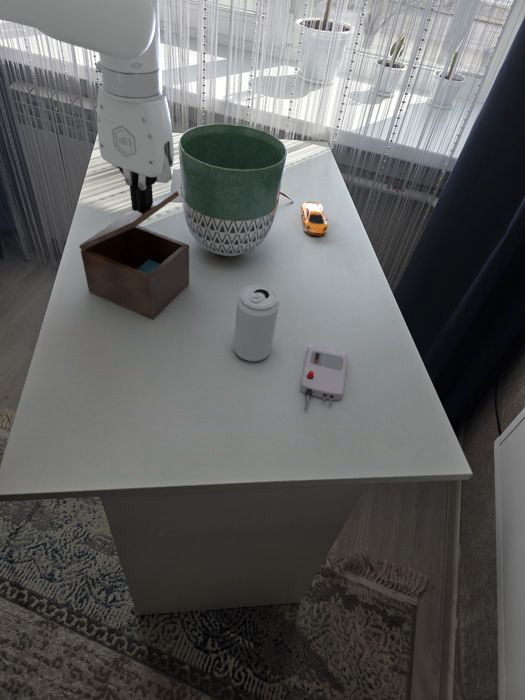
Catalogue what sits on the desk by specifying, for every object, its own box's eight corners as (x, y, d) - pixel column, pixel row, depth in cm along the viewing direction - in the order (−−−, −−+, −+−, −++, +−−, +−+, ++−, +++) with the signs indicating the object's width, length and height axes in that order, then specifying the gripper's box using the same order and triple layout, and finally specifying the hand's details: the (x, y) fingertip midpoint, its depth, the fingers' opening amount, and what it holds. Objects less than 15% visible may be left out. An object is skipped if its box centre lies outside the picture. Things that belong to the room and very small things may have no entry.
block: (156, 301, 83) (155, 281, 80) (135, 292, 84) (133, 272, 81) (171, 288, 86) (170, 267, 83) (150, 279, 87) (148, 259, 84)
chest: (189, 284, 89) (189, 244, 83) (153, 320, 81) (149, 279, 75) (129, 260, 92) (124, 219, 86) (88, 291, 84) (80, 250, 78)
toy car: (303, 237, 105) (306, 223, 102) (298, 209, 113) (300, 196, 111) (328, 239, 105) (332, 225, 103) (321, 211, 114) (324, 198, 111)
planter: (175, 270, 91) (173, 164, 76) (184, 218, 105) (183, 118, 89) (274, 278, 93) (291, 175, 78) (270, 225, 107) (284, 129, 91)
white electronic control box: (346, 349, 81) (350, 337, 79) (338, 420, 71) (343, 409, 68) (309, 340, 82) (312, 328, 80) (295, 410, 71) (298, 398, 69)
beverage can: (277, 347, 80) (288, 293, 71) (257, 370, 76) (265, 315, 67) (246, 331, 82) (253, 276, 73) (225, 352, 78) (229, 296, 69)
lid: (179, 195, 77) (176, 190, 76) (135, 227, 69) (132, 222, 69) (125, 219, 86) (123, 215, 85) (81, 250, 78) (78, 246, 78)
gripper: (66, 72, 60) (88, 203, 73) (164, 103, 57) (169, 234, 70) (104, 60, 65) (118, 184, 78) (196, 87, 62) (195, 213, 75)
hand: (142, 207), depth 74 cm, fingers closed
